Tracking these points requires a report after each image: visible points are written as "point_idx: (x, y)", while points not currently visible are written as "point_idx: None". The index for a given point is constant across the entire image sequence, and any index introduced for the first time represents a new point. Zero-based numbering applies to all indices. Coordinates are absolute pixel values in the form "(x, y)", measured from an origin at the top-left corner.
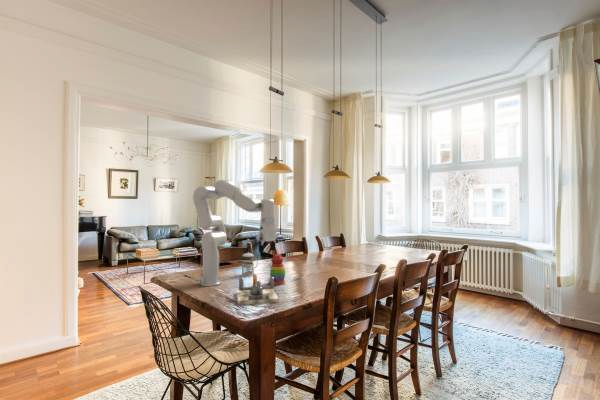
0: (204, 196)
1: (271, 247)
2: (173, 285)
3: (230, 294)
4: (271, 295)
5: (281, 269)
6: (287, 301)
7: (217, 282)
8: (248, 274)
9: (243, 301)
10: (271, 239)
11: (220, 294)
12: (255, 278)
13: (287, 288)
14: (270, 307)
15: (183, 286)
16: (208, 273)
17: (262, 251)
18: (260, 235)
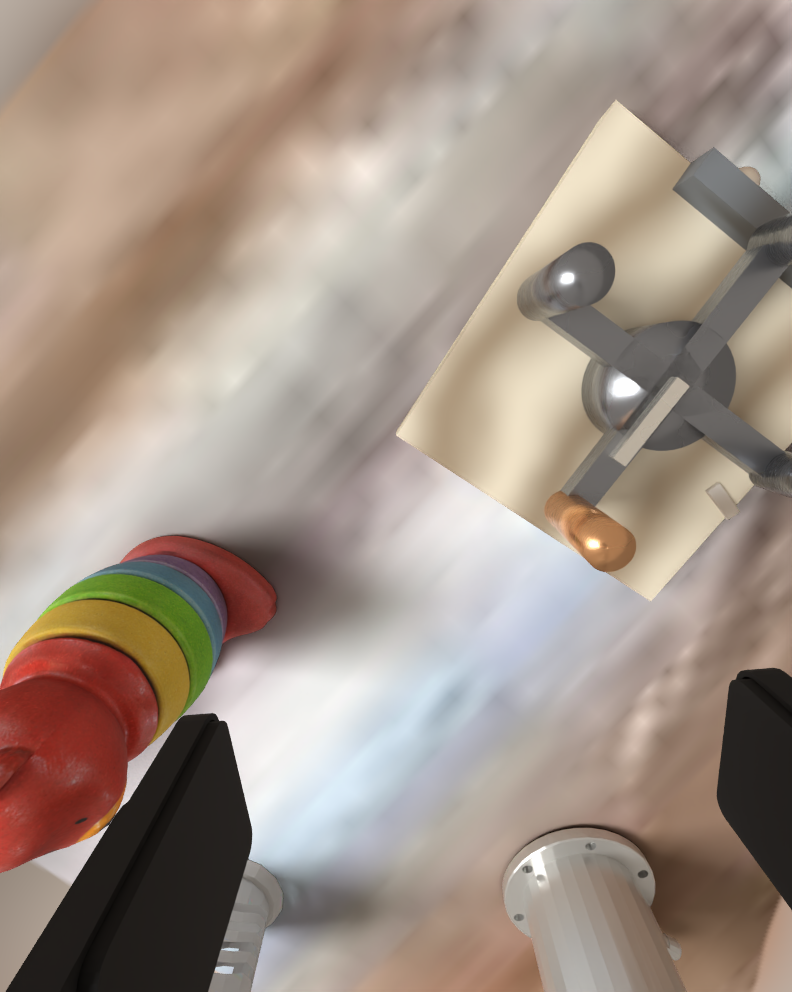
0: None
1: (219, 891)
2: (751, 973)
3: (678, 595)
4: (586, 239)
5: (104, 606)
6: (521, 76)
7: (560, 856)
8: (241, 887)
9: None
10: None
11: (722, 642)
12: (604, 513)
13: (225, 407)
14: (758, 58)
15: (730, 926)
16: (669, 959)
17: (790, 694)
18: None
